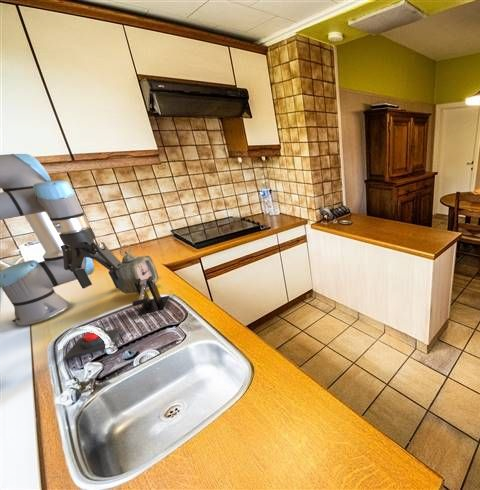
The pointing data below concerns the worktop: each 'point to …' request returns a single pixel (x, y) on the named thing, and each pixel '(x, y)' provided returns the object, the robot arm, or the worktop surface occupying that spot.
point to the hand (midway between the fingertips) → (104, 286)
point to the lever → (142, 294)
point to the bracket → (155, 303)
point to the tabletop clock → (136, 270)
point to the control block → (90, 345)
